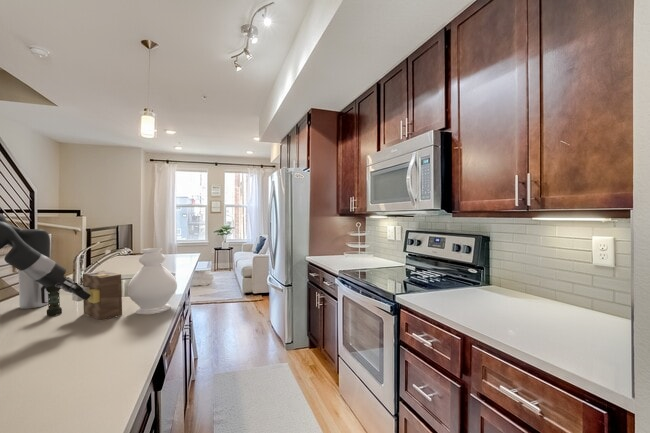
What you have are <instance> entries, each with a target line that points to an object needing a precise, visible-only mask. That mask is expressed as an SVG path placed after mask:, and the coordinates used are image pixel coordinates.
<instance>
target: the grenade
mask: <svg viewBox="0 0 650 433" xmlns="http://www.w3.org/2000/svg"><path fill="white" fill-rule="evenodd" d="M45 289H46V291H48V302H45V292H44V290H45ZM60 290H62V289H61V288H58V287H56V283H55V284H54V285H52V286H50V287H45V286H42V288H41V301H42V303H48V304H47V305H48V309H46V316H48V317H54V316H55V317H56V316H58V315H61V314H63V309H62V307H61V304H60V303H61V302H60V301H61V300H60Z"/></svg>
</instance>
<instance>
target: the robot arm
mask: <svg viewBox="0 0 650 433" xmlns="http://www.w3.org/2000/svg"><path fill="white" fill-rule="evenodd" d="M7 245H8V246H10V247H11V248H10V250H9V251H8V252H7V253H6V255H5V256H4V261H5V262H6V263H7V264H8V265H10V266H12V267H13V268H15V269H16V270H17V272H18V296H19V301H18V302H19V309H21V310H27V309H28V310H29V309H35V308H41V307H44V306H47V305H48V303H42V301H41V288H42V286H45V287H50V286H52V285H54V284H55V283H56V287H58V288H61V289H60V290H63V291H65V292H67V293H70V294H72V293H73V294H75V295H77V296H79V297H80V298H82V299H84V300H87V299H88V298H89V297H90V294H88V293H87V292H85V291H83V288H82V287H83V286H81V285H79V283H78V282H76V281H74V280H73V279H72V278H71V277H69V276H65V274H67V273H66V272H67V269H66V268H65V267H63V266H62V265H61V264H59V263H58V262H56V261H55V260H53V259H51V258H50V252H51V251H50V250H51V249H50V246H51V238H50V235H49V233H48V232H47V230H44V229H41V228H36V229H35V228H33V229H31V228H30V229H29V228H28V229H27V228H26V229H25V228H21V227H17V226H14V225H13V224H11V223H10V222H8V220H7V218H6V217H5V216H4V215H3V214H2V212H1V213H0V250H2V249H3V248H4V247H6V246H7ZM44 292H45V302H48V291H46V289H45V290H44Z"/></svg>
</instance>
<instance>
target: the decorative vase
mask: <svg viewBox="0 0 650 433" xmlns="http://www.w3.org/2000/svg"><path fill="white" fill-rule="evenodd" d="M161 251H163V248H162V247H148V248H142V249H141V252H142V253H143V254H142V255H140V256H139V258H138V262H139V264H141V265H143V266H142V267H141V268H140V269H139V270H138V271H137V272H136V273H135V274H134V276H132V278H131V280H130V281H129V283H128V285H127V295H128V297H129V298H130V299H131V301H132V302H134V304H136V305H137V306H138V308H137V309H135V314H138V315H153V314H159V313H163V312H166V311H168V310H170V309H171V304H169V303H168V302H169V301H170V299H171V298H172V297H173V296H174V295H175V293H176V291H177V288H178V283H177V280H176V278H175V276H174V275H173V274H172V272H171V271H170V270H169V269H167V268H166V267H164V266H163V265H162V264H163V263H164V261H165V260H166V256H165V254H164V253H162V252H161Z"/></svg>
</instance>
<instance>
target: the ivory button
mask: <svg viewBox="0 0 650 433" xmlns="http://www.w3.org/2000/svg"><path fill="white" fill-rule="evenodd" d="M81 287H82V288H83V291H85V292H87V293H88V290H90V288H89V287H85V286H84V287H83V286H81ZM71 294H72V295H71V296H72V299H71V300H72V301H74V302H77V303H78V302H83V300H84V299H82V298H80V297H79V296H77V295H75V294H73V293H71ZM87 300H88V299H87Z"/></svg>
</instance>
